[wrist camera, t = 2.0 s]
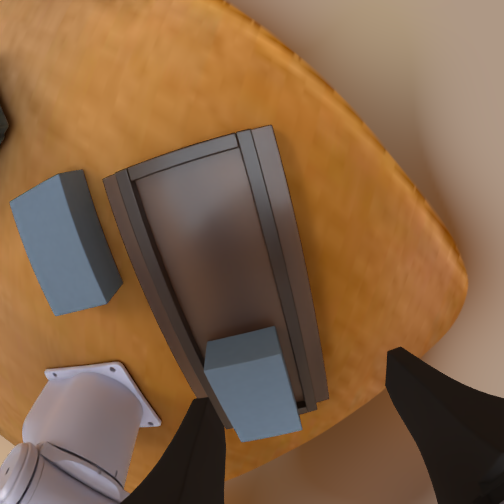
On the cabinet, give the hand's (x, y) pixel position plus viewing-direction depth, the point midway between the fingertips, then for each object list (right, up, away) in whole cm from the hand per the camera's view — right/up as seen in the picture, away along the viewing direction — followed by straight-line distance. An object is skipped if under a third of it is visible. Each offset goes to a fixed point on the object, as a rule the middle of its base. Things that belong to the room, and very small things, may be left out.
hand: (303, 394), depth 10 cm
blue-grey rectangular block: (-2, -3, +10) cm, 10 cm away
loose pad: (-14, +6, +7) cm, 17 cm away
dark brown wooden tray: (-3, +2, +9) cm, 10 cm away
